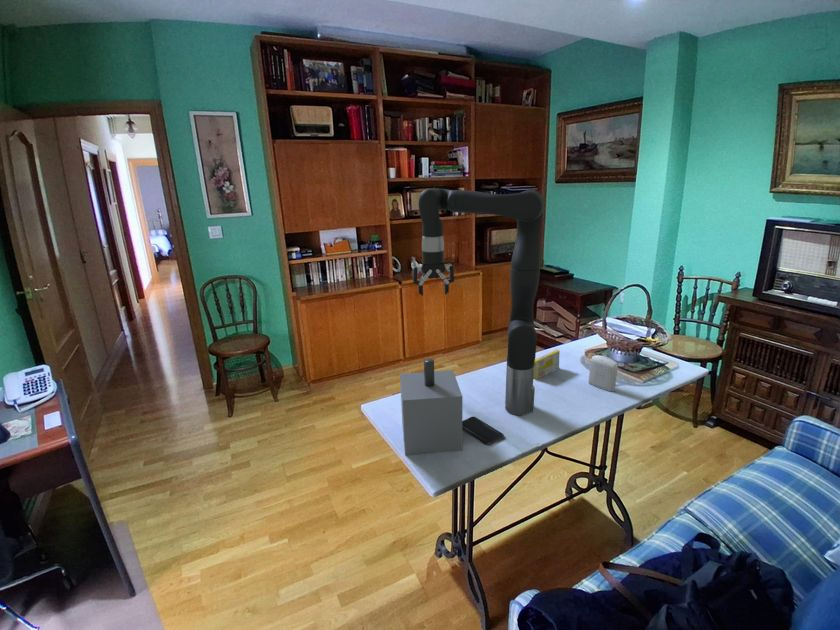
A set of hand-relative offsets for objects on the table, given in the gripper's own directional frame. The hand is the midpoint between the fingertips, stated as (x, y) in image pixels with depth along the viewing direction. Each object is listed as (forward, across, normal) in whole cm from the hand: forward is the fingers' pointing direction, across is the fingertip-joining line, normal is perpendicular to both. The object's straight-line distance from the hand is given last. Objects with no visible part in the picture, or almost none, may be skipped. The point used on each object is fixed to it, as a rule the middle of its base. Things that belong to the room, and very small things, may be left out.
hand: (433, 294), depth 154 cm
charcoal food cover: (+40, -5, -27) cm, 48 cm away
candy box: (+40, +48, +12) cm, 64 cm away
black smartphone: (+41, +12, -26) cm, 50 cm away
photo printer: (+40, +65, -2) cm, 77 cm away
